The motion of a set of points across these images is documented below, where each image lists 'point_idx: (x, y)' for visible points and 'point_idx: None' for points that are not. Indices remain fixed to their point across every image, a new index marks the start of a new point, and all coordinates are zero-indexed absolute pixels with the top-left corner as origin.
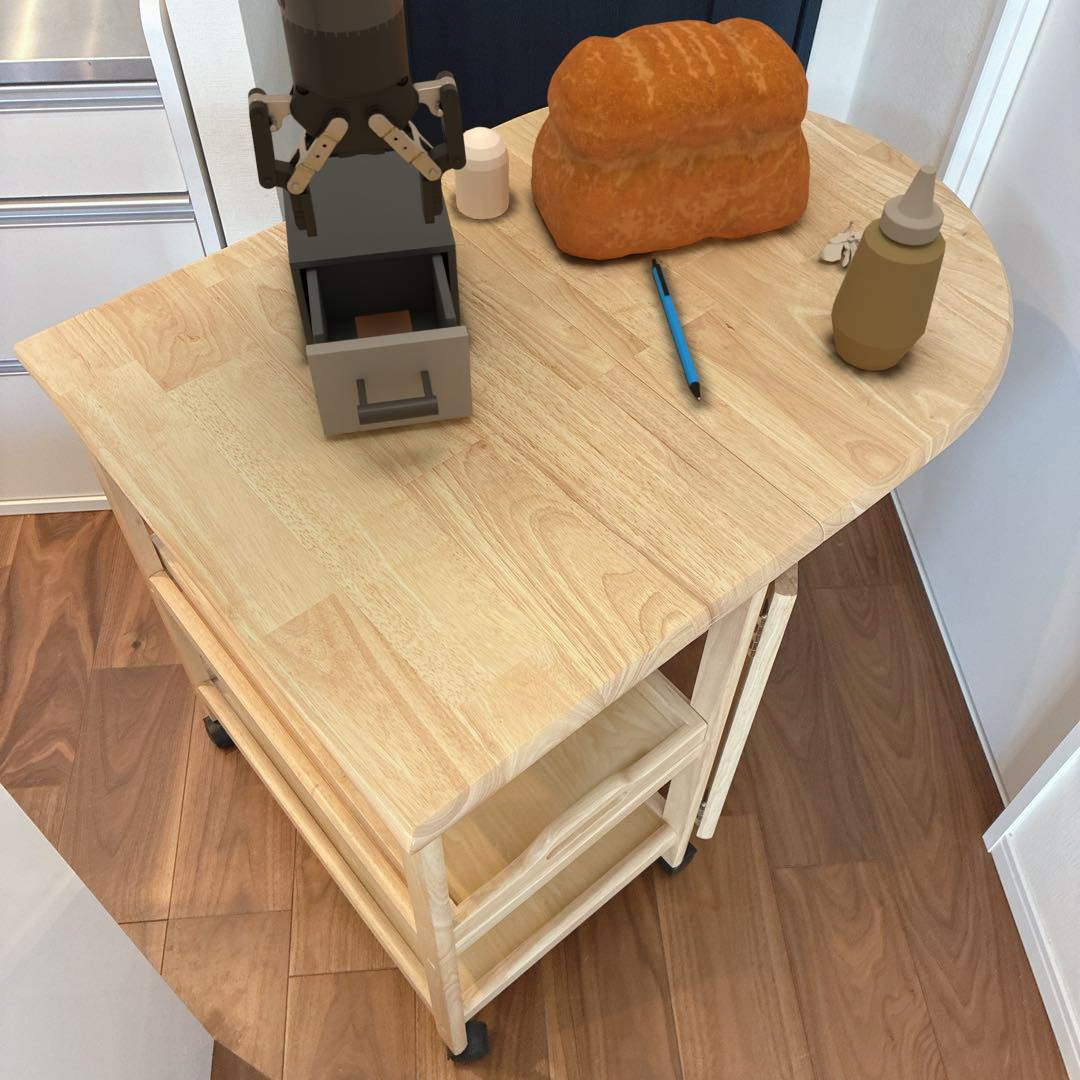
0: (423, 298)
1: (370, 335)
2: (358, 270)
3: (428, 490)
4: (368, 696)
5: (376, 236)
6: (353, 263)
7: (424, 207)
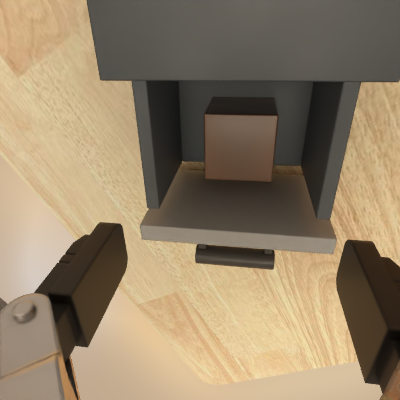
0: None
1: (220, 153)
2: None
3: None
4: (193, 343)
5: (254, 26)
6: None
7: (346, 319)
